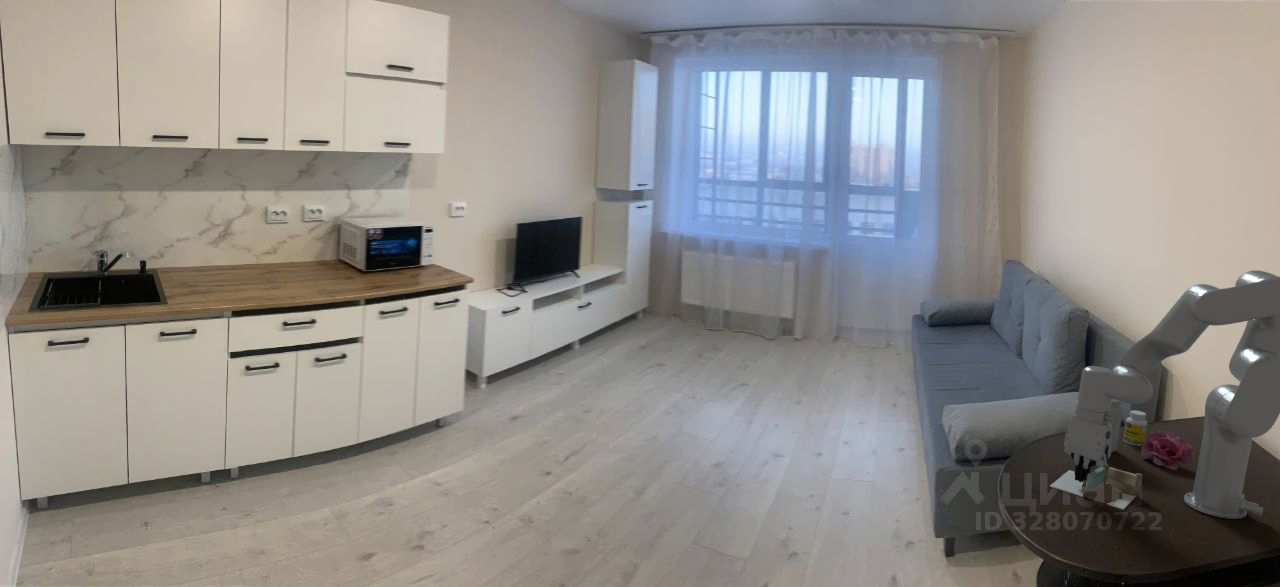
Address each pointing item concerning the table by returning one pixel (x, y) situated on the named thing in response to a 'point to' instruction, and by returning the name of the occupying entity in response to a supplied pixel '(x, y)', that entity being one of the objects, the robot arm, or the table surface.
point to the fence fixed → (1123, 480)
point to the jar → (1115, 422)
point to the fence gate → (1095, 477)
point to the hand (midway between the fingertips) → (1081, 480)
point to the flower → (1167, 449)
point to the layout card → (1075, 487)
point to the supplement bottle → (1135, 428)
